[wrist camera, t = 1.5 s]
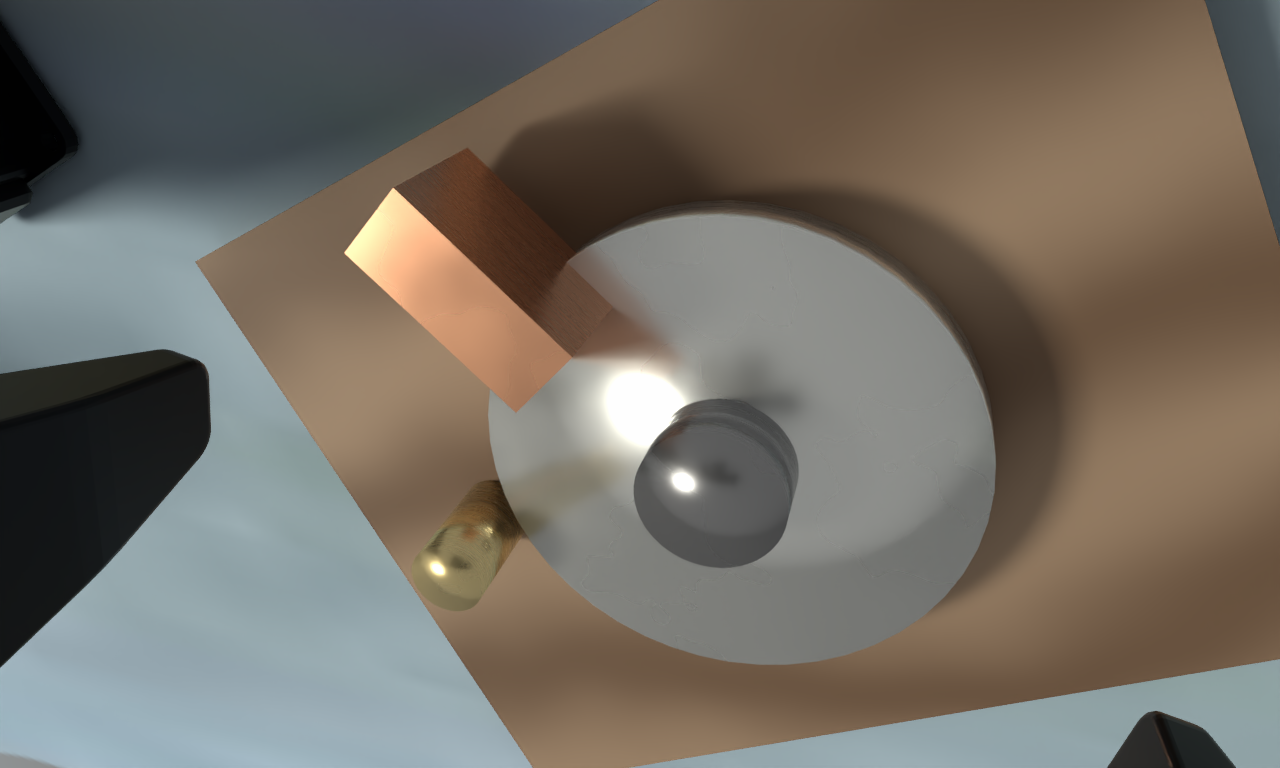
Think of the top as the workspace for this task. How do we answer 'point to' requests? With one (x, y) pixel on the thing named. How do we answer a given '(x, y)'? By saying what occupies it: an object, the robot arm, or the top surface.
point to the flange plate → (799, 368)
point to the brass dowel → (468, 549)
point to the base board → (940, 256)
